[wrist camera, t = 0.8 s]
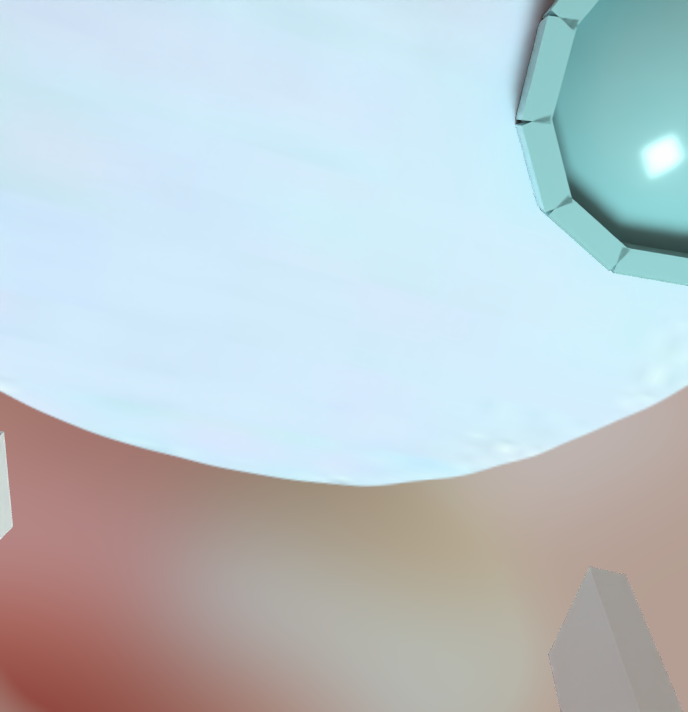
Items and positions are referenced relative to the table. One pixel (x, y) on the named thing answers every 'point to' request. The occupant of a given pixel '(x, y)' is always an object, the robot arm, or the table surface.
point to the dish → (612, 131)
